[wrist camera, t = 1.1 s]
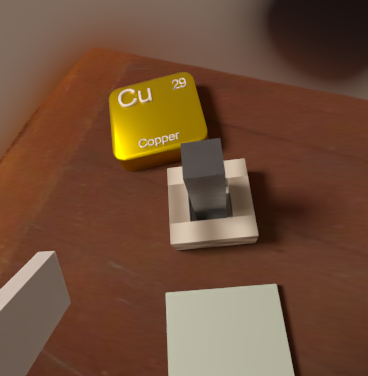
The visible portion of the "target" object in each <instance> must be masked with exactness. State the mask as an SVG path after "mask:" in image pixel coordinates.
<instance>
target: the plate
mask: <svg viewBox="0 0 368 376" xmlns="http://www.w3.org/2000/svg"><path fill="white" fill-rule="evenodd" d="M166 315H167V344H168V372H169V376H294V371H293V365H292V360H291V355H290V350H289V345H288V340H287V335H286V330H285V325H284V319H283V314H282V309H281V304H280V299H279V294H278V289H277V284H268V285H256V286H243V287H231V288H218V289H206V290H194V291H181V292H169V293H166Z"/></svg>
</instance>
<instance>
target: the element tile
mask: <svg viewBox="0 0 368 376" xmlns="http://www.w3.org/2000/svg"><path fill="white" fill-rule="evenodd" d="M109 108H110V120H111V133H112V145H113V153H114V156H115V158H116V159H117V160H118V162H119V163H120V164H121V166H122V167H123V168H124V169H125V170H126V171H130V172H134V171H139V170H143V169H147V168H152V167H156V166H160V165H164V164H168V163H173V162H177V161H181V160H182V159H181V145H180V143H187V142H194V141H201V140H209V139H208V131H207V126H206V122H205V119H204V115H203V111H202V108H201V104H200V100H199V97H198V93H197V89H196V85H195V82H194V78H193V77H192V75H191V74H189V73H186V72H181V73H176V74H172V75H168V76H164V77H161V78H157V79H153V80H149V81H145V82H141V83H137V84H133V85H130V86H126V87H122V88H119V89H116V90H115V91H113V92H112V93H111V94H110V97H109Z"/></svg>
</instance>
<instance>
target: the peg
mask: <svg viewBox="0 0 368 376" xmlns="http://www.w3.org/2000/svg"><path fill="white" fill-rule="evenodd" d="M180 145H181V159H182V173H183V181H184V183H185V186H186V189H187V192H188V195H189V198H190V200H191V203H192V206H193V209H194V212H195V215H196V217H197V220H198V221H201V220H211V219H220V218H226V179H225V168H224V161H223V154H222V147H221V140H220V138H216V139H209V140H201V141H194V142H187V143H180Z"/></svg>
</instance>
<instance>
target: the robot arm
mask: <svg viewBox="0 0 368 376" xmlns="http://www.w3.org/2000/svg"><path fill="white" fill-rule="evenodd" d="M70 303H71V301H70V297H69V294H68V291H67V288H66V285H65V282H64V278H63V275H62V272H61V269H60V266H59V262H58V259H57V256H56V253H55V251H48V252H38V253H37V254H36V255H35V256H34V257H33V258H32V259H31V260H30V261H29V262H28V263H27V264H26V265H25V266H24V267H23V268H22V269H21V270H20V271H19V272H18V273H17V274H16V275H15V276H14V277H13V278H12V279H10V280H9V281H8V282H7V283H6V284H5V285H4V286H3V287H2V288H1V289H0V376H26V374H27V373H28V371H29V369H30V368H31V366H32V365H33V363H34V361H35V360H36V358H37V356H38V355H39V353H40V352H41V350H42V348H43V347H44V345H45V344H46V342H47V340H48V339H49V337H50V335H51V334H52V332H53V331H54V329H55V327H56V326H57V324H58V323H59V321H60V319H61V318H62V316H63V314H64V313H65V311H66V310H67V308H68V306H69V305H70Z"/></svg>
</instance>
